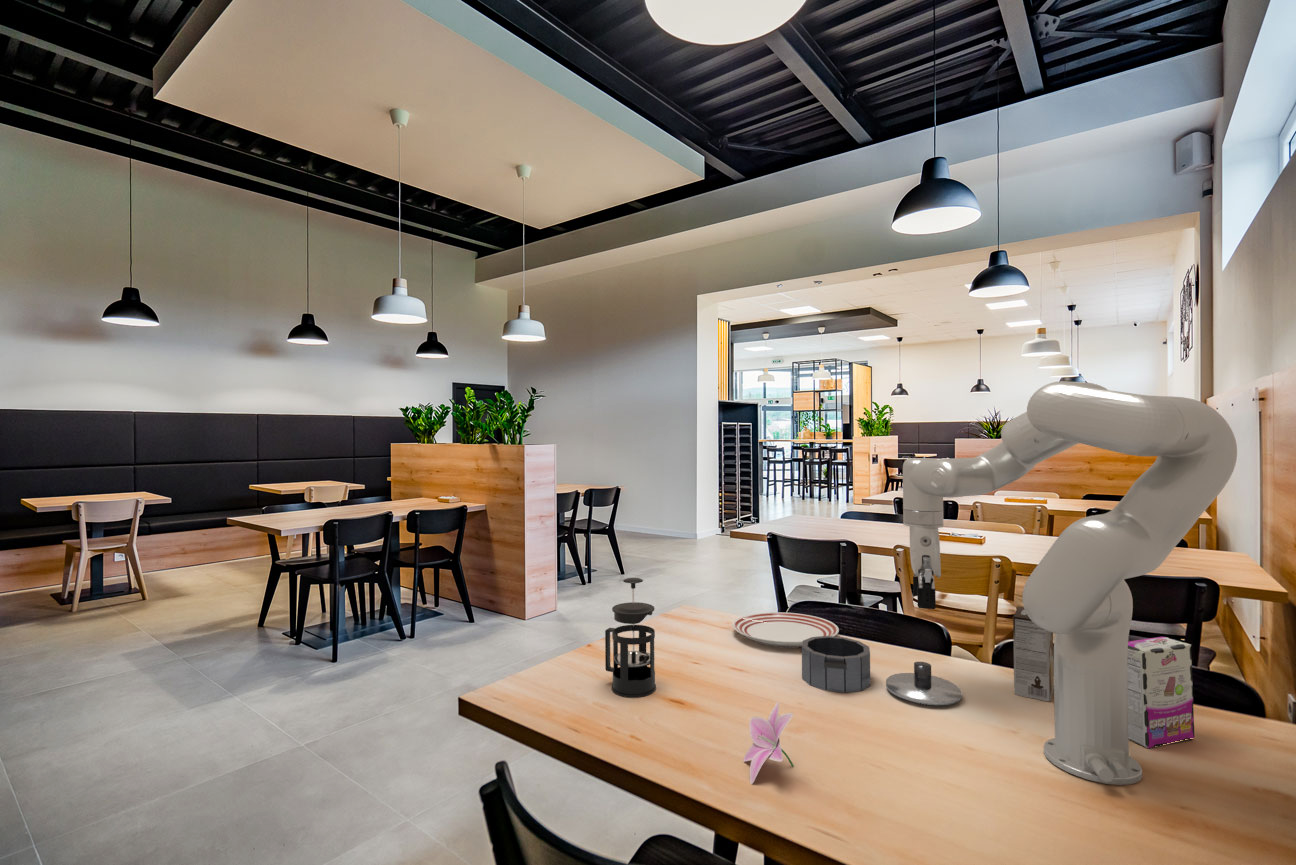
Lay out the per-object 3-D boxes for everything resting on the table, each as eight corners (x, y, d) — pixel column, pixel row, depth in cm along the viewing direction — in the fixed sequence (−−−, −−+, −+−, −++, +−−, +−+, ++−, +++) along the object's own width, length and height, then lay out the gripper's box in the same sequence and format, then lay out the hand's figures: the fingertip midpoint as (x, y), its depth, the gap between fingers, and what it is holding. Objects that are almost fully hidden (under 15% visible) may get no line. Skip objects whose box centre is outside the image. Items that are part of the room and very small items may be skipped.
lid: (968, 714, 114) (967, 681, 114) (888, 705, 118) (888, 673, 118) (954, 685, 127) (954, 656, 127) (883, 678, 131) (883, 649, 131)
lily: (755, 748, 104) (729, 704, 102) (819, 733, 99) (794, 686, 98) (748, 809, 93) (719, 760, 91) (820, 795, 88) (791, 744, 87)
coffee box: (1018, 680, 129) (1017, 605, 129) (1054, 687, 125) (1053, 610, 125) (1013, 695, 122) (1012, 615, 122) (1051, 703, 118) (1050, 621, 118)
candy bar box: (1163, 727, 108) (1162, 635, 108) (1195, 740, 103) (1194, 644, 103) (1116, 735, 105) (1115, 641, 105) (1147, 749, 100) (1145, 650, 100)
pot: (872, 698, 120) (871, 663, 121) (800, 690, 125) (799, 656, 125) (868, 668, 136) (867, 637, 136) (804, 662, 141) (804, 632, 141)
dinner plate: (713, 629, 166) (713, 617, 166) (793, 616, 177) (792, 605, 177) (774, 662, 141) (774, 648, 141) (862, 645, 153) (862, 632, 153)
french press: (666, 684, 128) (665, 576, 129) (647, 701, 120) (646, 586, 120) (617, 675, 133) (616, 571, 134) (596, 691, 125) (595, 580, 125)
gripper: (949, 525, 114) (950, 615, 114) (937, 514, 130) (938, 593, 130) (906, 523, 116) (907, 611, 116) (900, 512, 133) (901, 590, 133)
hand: (923, 601), depth 123 cm, fingers open, 9 cm apart
